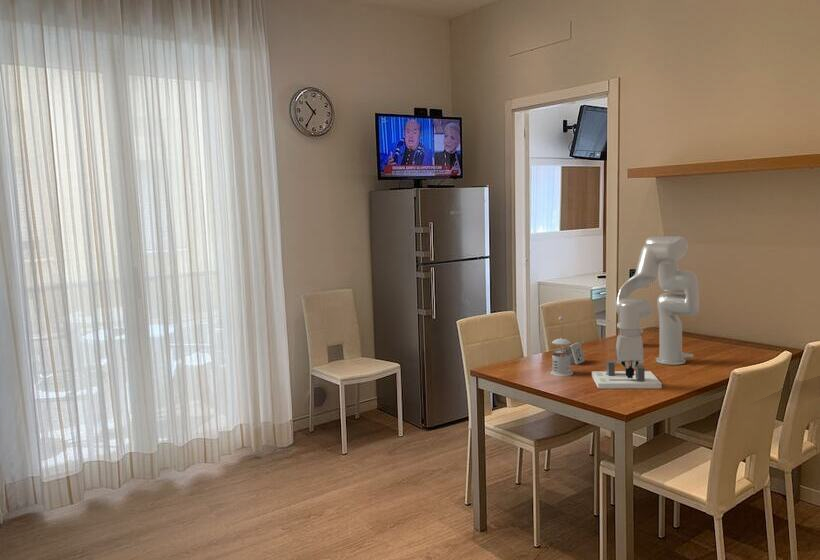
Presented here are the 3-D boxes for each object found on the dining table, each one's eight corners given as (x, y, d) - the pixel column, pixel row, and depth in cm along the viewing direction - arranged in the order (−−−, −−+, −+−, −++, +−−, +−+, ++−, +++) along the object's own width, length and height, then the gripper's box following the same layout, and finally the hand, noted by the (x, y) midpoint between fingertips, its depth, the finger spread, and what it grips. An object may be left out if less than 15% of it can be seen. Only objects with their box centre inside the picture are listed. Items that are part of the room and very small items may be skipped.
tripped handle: (641, 377, 257) (641, 365, 257) (644, 380, 252) (644, 368, 252) (635, 377, 258) (635, 365, 257) (638, 380, 253) (638, 368, 252)
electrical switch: (577, 365, 291) (575, 345, 290) (566, 365, 294) (564, 345, 293) (585, 361, 298) (583, 341, 297) (575, 361, 301) (573, 341, 301)
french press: (550, 375, 274) (549, 318, 272) (549, 369, 286) (548, 314, 283) (574, 376, 273) (573, 318, 270) (572, 369, 284) (571, 313, 281)
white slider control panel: (650, 375, 268) (650, 358, 267) (661, 388, 249) (661, 369, 249) (591, 375, 272) (591, 358, 271) (598, 388, 253) (598, 369, 252)
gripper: (647, 330, 256) (647, 375, 258) (608, 330, 258) (609, 375, 260) (651, 334, 249) (651, 379, 251) (611, 334, 251) (612, 380, 253)
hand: (629, 377), depth 256 cm, fingers closed
